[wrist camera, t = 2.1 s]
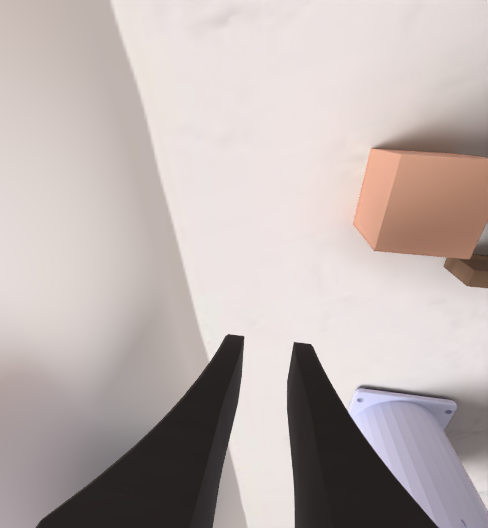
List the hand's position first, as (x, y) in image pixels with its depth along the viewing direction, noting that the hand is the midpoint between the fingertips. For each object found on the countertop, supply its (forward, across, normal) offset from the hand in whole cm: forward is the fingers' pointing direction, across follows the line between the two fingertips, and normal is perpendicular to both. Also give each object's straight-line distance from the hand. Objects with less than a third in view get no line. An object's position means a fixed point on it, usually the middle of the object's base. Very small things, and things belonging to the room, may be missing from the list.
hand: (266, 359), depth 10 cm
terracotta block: (+10, -7, -5) cm, 13 cm away
